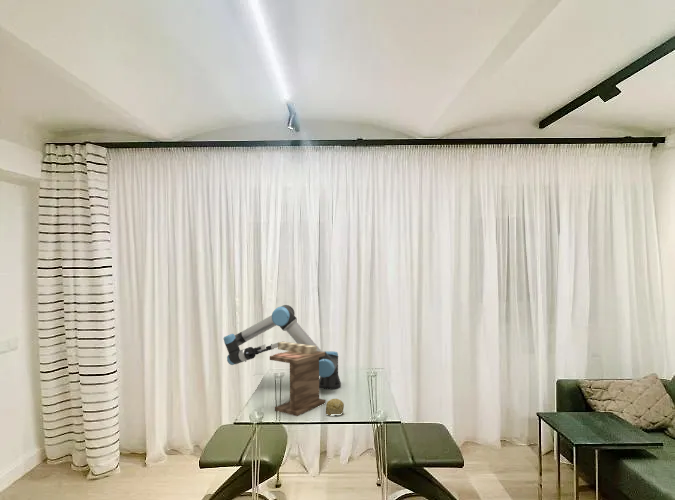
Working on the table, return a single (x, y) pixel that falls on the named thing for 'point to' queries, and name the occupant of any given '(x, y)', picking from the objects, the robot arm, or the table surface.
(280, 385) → the table surface
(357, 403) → the table surface
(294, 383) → the stand
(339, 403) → the rock
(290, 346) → the bar
